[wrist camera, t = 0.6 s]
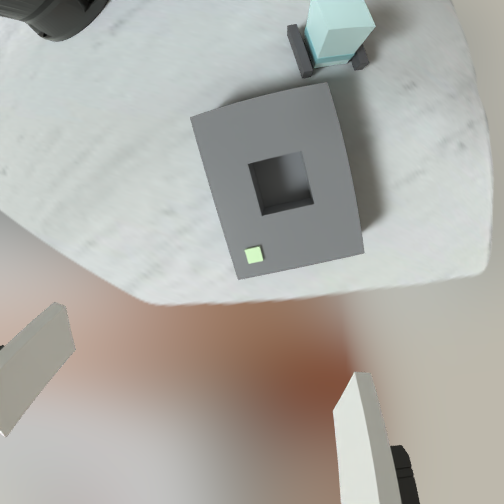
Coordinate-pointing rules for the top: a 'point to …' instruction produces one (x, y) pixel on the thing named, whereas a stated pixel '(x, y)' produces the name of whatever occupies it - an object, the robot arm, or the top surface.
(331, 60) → the plug
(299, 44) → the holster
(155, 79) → the top surface
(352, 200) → the port block
